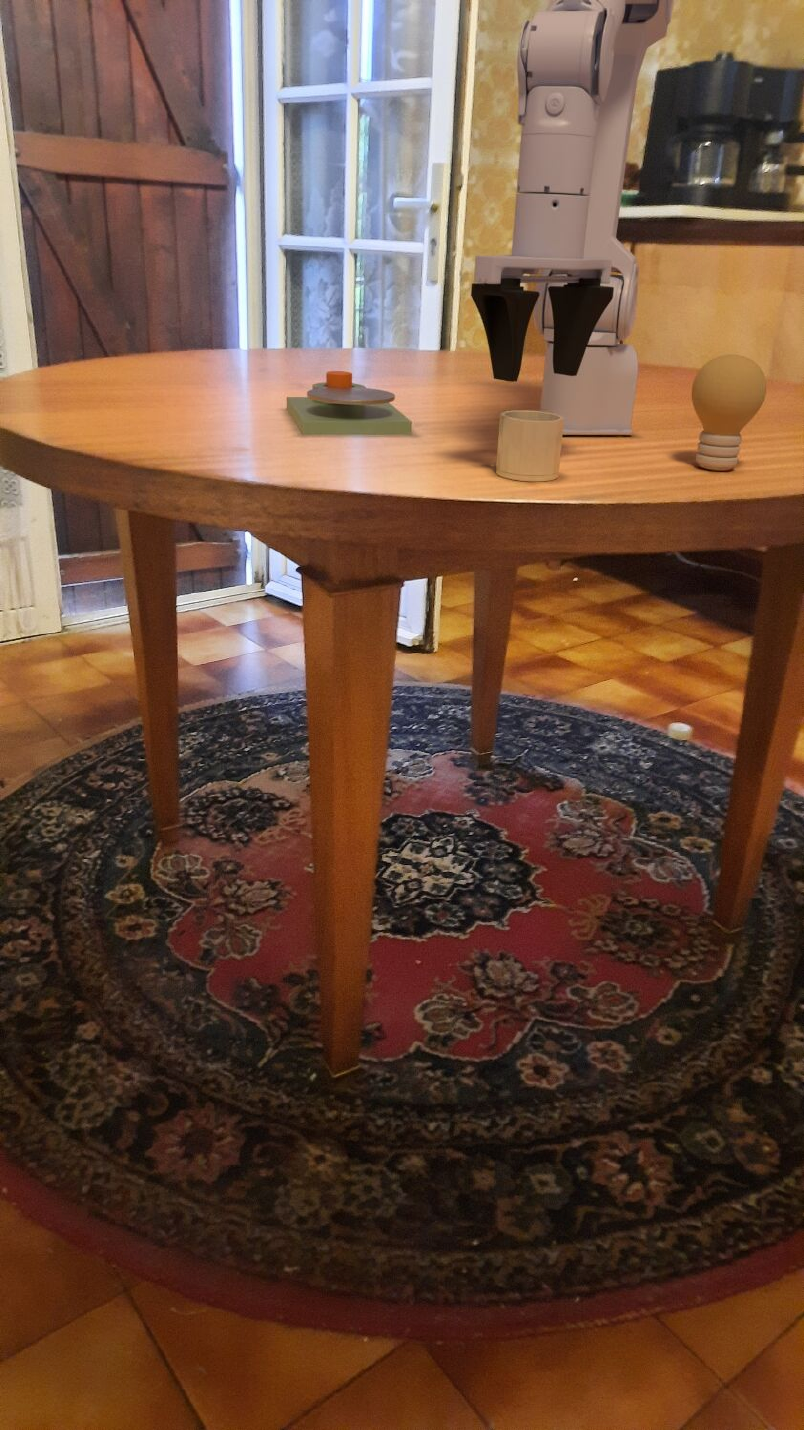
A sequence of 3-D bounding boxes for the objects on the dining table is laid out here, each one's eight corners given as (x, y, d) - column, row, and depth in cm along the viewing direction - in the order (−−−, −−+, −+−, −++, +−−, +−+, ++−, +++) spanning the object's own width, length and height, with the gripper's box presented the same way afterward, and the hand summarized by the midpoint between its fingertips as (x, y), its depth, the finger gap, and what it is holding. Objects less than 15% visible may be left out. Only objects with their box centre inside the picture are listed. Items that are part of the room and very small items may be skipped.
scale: (286, 409, 114) (286, 381, 113) (382, 410, 116) (383, 382, 115) (302, 435, 101) (302, 404, 99) (411, 435, 103) (412, 405, 102)
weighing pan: (385, 391, 109) (385, 387, 109) (402, 405, 101) (403, 401, 101) (302, 390, 107) (301, 386, 107) (312, 404, 100) (313, 400, 99)
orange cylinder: (324, 387, 113) (324, 370, 112) (349, 387, 113) (349, 371, 112) (328, 391, 110) (328, 374, 109) (353, 391, 111) (354, 374, 110)
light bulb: (740, 479, 90) (762, 361, 86) (670, 468, 93) (688, 354, 89) (758, 467, 95) (780, 355, 91) (691, 458, 98) (709, 348, 94)
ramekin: (546, 467, 92) (551, 410, 90) (566, 481, 87) (573, 421, 85) (488, 468, 91) (493, 410, 88) (506, 482, 86) (511, 421, 84)
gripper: (572, 199, 86) (555, 366, 92) (450, 190, 78) (440, 376, 83) (640, 200, 82) (618, 376, 88) (520, 190, 73) (504, 387, 79)
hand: (536, 377), depth 85 cm, fingers open, 7 cm apart
